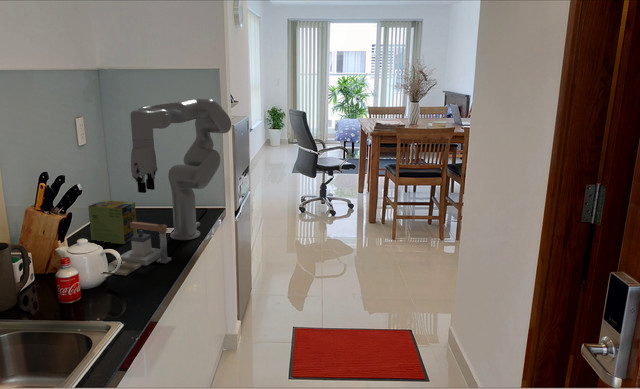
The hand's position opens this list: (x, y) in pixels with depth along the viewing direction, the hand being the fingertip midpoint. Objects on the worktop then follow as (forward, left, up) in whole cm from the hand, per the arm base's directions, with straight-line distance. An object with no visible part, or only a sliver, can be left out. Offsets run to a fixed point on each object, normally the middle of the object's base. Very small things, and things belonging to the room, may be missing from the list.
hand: (146, 190), depth 183 cm
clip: (+6, +4, -13) cm, 15 cm away
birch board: (+18, -1, -25) cm, 31 cm away
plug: (+6, 0, -25) cm, 26 cm away
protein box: (-9, -24, -26) cm, 36 cm away
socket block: (+6, 0, -25) cm, 26 cm away
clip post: (+6, +10, -25) cm, 28 cm away
